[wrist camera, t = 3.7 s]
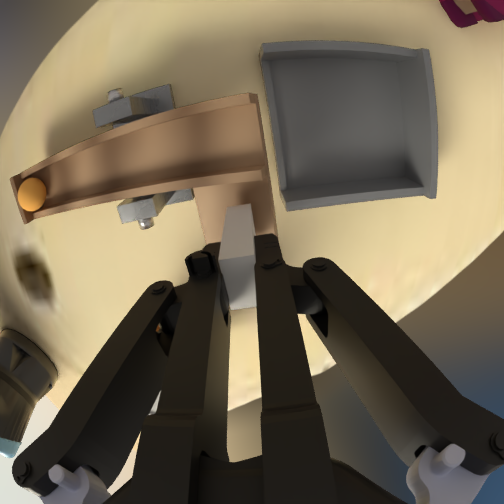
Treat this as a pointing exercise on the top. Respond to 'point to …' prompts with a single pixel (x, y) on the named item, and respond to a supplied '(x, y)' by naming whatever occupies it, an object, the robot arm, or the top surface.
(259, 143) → the lever
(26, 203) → the ball
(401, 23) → the top surface
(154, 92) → the fulcrum
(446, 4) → the book
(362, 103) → the tray
